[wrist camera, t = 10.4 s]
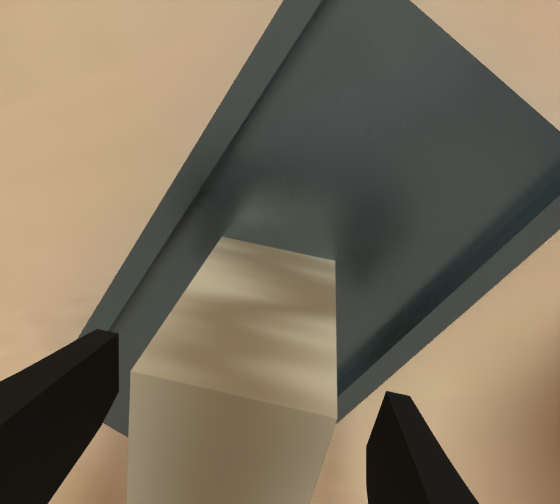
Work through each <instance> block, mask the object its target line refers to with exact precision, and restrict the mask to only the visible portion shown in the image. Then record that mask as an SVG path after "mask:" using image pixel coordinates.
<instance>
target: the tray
mask: <svg viewBox="0 0 560 504" xmlns="http://www.w3.org/2000/svg"><path fill="white" fill-rule="evenodd" d="M559 229H560V131H559V130H557V129H556V128H555V127H554V126H553V125H552V124H551V123H549V122H548V121H547V120H546V119H545V118H544V117H543V116H541V115H540V114H539V113H538V112H537V111H536V110H535V109H533V108H532V107H531V106H530V105H529V104H528V103H527V102H525V101H524V100H523V99H522V98H521V97H520V96H519V95H517V94H516V93H515V92H514V91H513V90H512V89H511V88H509V87H508V86H507V85H506V84H505V83H504V82H503V81H501V80H500V79H499V78H498V77H497V76H496V75H495V74H493V73H492V72H491V71H490V70H489V69H488V68H487V67H485V66H484V65H483V64H482V63H481V62H480V61H479V60H477V59H476V58H475V57H474V56H473V55H472V54H471V53H469V52H468V51H467V50H466V49H465V48H464V47H463V46H461V45H460V44H459V43H458V42H457V41H456V40H454V39H453V38H452V37H451V36H450V35H449V34H448V33H446V32H445V31H444V30H443V29H442V28H441V27H440V26H438V25H437V24H436V23H435V22H434V21H433V20H432V19H430V18H429V17H428V16H427V15H426V14H425V13H424V12H422V11H421V10H420V9H419V8H418V7H417V6H416V5H414V4H413V3H412V2H411V1H410V0H283V2H282V4H281V5H280V7H279V9H278V10H277V12H276V14H275V15H274V17H273V18H272V20H271V22H270V23H269V25H268V27H267V28H266V30H265V32H264V33H263V35H262V37H261V38H260V40H259V41H258V43H257V45H256V46H255V48H254V50H253V51H252V53H251V55H250V56H249V58H248V60H247V61H246V63H245V64H244V66H243V68H242V69H241V71H240V73H239V74H238V76H237V78H236V79H235V81H234V83H233V84H232V86H231V87H230V89H229V91H228V92H227V94H226V96H225V97H224V99H223V101H222V102H221V104H220V106H219V107H218V109H217V110H216V112H215V114H214V115H213V117H212V119H211V120H210V122H209V124H208V125H207V127H206V129H205V130H204V132H203V133H202V135H201V137H200V138H199V140H198V142H197V143H196V145H195V147H194V148H193V150H192V152H191V153H190V155H189V156H188V158H187V160H186V161H185V163H184V165H183V166H182V168H181V170H180V171H179V173H178V174H177V176H176V178H175V179H174V181H173V183H172V184H171V186H170V188H169V189H168V191H167V193H166V194H165V196H164V197H163V199H162V201H161V202H160V204H159V206H158V207H157V209H156V211H155V212H154V214H153V216H152V217H151V219H150V220H149V222H148V224H147V225H146V227H145V229H144V230H143V232H142V234H141V235H140V237H139V239H138V240H137V242H136V243H135V245H134V247H133V248H132V250H131V252H130V253H129V255H128V257H127V258H126V260H125V262H124V263H123V265H122V266H121V268H120V270H119V271H118V273H117V275H116V276H115V278H114V280H113V281H112V283H111V285H110V286H109V288H108V289H107V291H106V293H105V294H104V296H103V298H102V299H101V301H100V303H99V304H98V306H97V308H96V309H95V311H94V312H93V314H92V316H91V317H90V319H89V321H88V322H87V324H86V326H85V327H84V329H83V330H82V332H81V334H80V335H79V337H78V339H79V338H81V337H83V336H84V335H86V334H88V333H90V332H92V331H94V330H96V329H100V330H105V331H110V332H114V333H119V392H118V394H117V396H116V398H115V400H114V402H113V404H112V406H111V408H110V410H109V412H108V414H107V416H106V418H105V419H104V421H103V423H104V424H106V425H108V426H110V427H111V428H113V429H115V430H116V431H118V432H120V433H122V434H123V435H125V436H127V437H128V432H129V403H130V375H131V370H132V368H133V367H134V365H135V364H136V362H137V361H138V359H139V358H140V356H141V355H142V354H143V352H144V351H145V349H146V348H147V346H148V345H149V343H150V342H151V340H152V339H153V337H154V336H155V334H156V333H157V331H158V330H159V328H160V327H161V326H162V324H163V323H164V321H165V320H166V318H167V317H168V315H169V314H170V312H171V311H172V309H173V308H174V306H175V305H176V303H177V302H178V300H179V299H180V298H181V296H182V295H183V293H184V292H185V290H186V289H187V287H188V286H189V284H190V283H191V281H192V280H193V278H194V277H195V275H196V274H197V272H198V271H199V270H200V268H201V267H202V265H203V264H204V262H205V261H206V259H207V258H208V256H209V255H210V253H211V252H212V250H213V249H214V247H215V246H216V244H217V243H218V242H219V240H220V239H221V237H227V238H231V239H236V240H240V241H245V242H250V243H254V244H259V245H263V246H268V247H273V248H277V249H282V250H286V251H291V252H296V253H300V254H305V255H310V256H314V257H319V258H323V259H328V260H333V261H335V280H336V354H337V421H336V424H337V423H338V422H339V421H340V420H341V419H342V418H343V417H345V416H346V415H347V414H348V413H349V412H350V411H351V410H353V409H354V408H355V407H356V406H357V405H358V404H360V403H361V402H362V401H363V400H364V399H365V398H366V397H368V396H369V395H370V394H371V393H372V392H373V391H374V390H376V389H377V388H378V387H379V386H380V385H381V384H383V383H384V382H385V381H386V380H387V379H388V378H389V377H391V376H392V375H393V374H394V373H395V372H396V371H397V370H399V369H400V368H401V367H402V366H403V365H404V364H405V363H407V362H408V361H409V360H410V359H411V358H412V357H414V356H415V355H416V354H417V353H418V352H419V351H420V350H422V349H423V348H424V347H425V346H426V345H427V344H428V343H430V342H431V341H432V340H433V339H434V338H435V337H437V336H438V335H439V334H440V333H441V332H442V331H443V330H445V329H446V328H447V327H448V326H449V325H450V324H451V323H453V322H454V321H455V320H456V319H457V318H458V317H459V316H461V315H462V314H463V313H464V312H465V311H466V310H468V309H469V308H470V307H471V306H472V305H473V304H474V303H476V302H477V301H478V300H479V299H480V298H481V297H482V296H484V295H485V294H486V293H487V292H488V291H489V290H490V289H492V288H493V287H494V286H495V285H496V284H497V283H499V282H500V281H501V280H502V279H503V278H504V277H505V276H507V275H508V274H509V273H510V272H511V271H512V270H513V269H515V268H516V267H517V266H518V265H519V264H520V263H522V262H523V261H524V260H525V259H526V258H527V257H528V256H530V255H531V254H532V253H533V252H534V251H535V250H536V249H538V248H539V247H540V246H541V245H542V244H543V243H544V242H546V241H547V240H548V239H549V238H550V237H551V236H553V235H554V234H555V233H556V232H557V231H558V230H559Z"/></svg>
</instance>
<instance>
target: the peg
mask: <svg viewBox="0 0 560 504" xmlns="http://www.w3.org/2000/svg"><path fill="white" fill-rule="evenodd" d="M336 421H337V354H336V280H335V261H333V260H328V259H323V258H319V257H314V256H310V255H305V254H300V253H296V252H291V251H286V250H282V249H277V248H273V247H268V246H263V245H259V244H254V243H250V242H245V241H240V240H236V239H231V238H227V237H221V239H220V240H219V242H218V243H217V244H216V246H215V247H214V249H213V250H212V252H211V253H210V255H209V256H208V258H207V259H206V261H205V262H204V264H203V265H202V267H201V268H200V270H199V271H198V272H197V274H196V275H195V277H194V278H193V280H192V281H191V283H190V284H189V286H188V287H187V289H186V290H185V292H184V293H183V295H182V296H181V298H180V299H179V300H178V302H177V303H176V305H175V306H174V308H173V309H172V311H171V312H170V314H169V315H168V317H167V318H166V320H165V321H164V323H163V324H162V326H161V327H160V328H159V330H158V331H157V333H156V334H155V336H154V337H153V339H152V340H151V342H150V343H149V345H148V346H147V348H146V349H145V351H144V352H143V354H142V355H141V356H140V358H139V359H138V361H137V362H136V364H135V365H134V367H133V368H132V370H131V375H130V403H129V432H128V461H127V490H126V504H309V503H310V500H311V497H312V494H313V491H314V488H315V485H316V482H317V479H318V476H319V473H320V470H321V467H322V464H323V461H324V458H325V455H326V452H327V449H328V445H329V442H330V439H331V436H332V433H333V430H334V427H335V424H336Z"/></svg>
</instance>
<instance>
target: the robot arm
mask: <svg viewBox="0 0 560 504" xmlns="http://www.w3.org/2000/svg"><path fill="white" fill-rule="evenodd" d="M118 392H119V333H114V332H110V331H105V330H100V329H96V330H94V331H92V332H90V333H88V334H86V335H84V336H83V337H81V338H79V339H77V340H76V341H74V342H72V343H70V344H69V345H67V346H65V347H63V348H61V349H60V350H58V351H56V352H54V353H53V354H51V355H49V356H47V357H45V358H44V359H42V360H40V361H38V362H36V363H35V364H33V365H31V366H29V367H27V368H25V369H24V370H22V371H20V372H18V373H16V374H14V375H12V376H10V377H8V378H6V379H4V380H2V381H0V504H48V502H49V501H50V500H51V498H52V497H53V495H54V494H55V492H56V491H57V489H58V488H59V487H60V485H61V484H62V482H63V481H64V479H65V478H66V476H67V475H68V474H69V472H70V471H71V469H72V468H73V466H74V465H75V463H76V462H77V461H78V459H79V458H80V456H81V455H82V453H83V452H84V450H85V449H86V447H87V446H88V445H89V443H90V442H91V440H92V439H93V437H94V436H95V434H96V433H97V431H98V430H99V428H100V427H101V425H102V423H103V421H104V419H105V418H106V416H107V414H108V412H109V410H110V408H111V406H112V404H113V402H114V400H115V398H116V396H117V394H118ZM366 484H367V496H368V504H479V503H478V501H477V500H476V499H475V497H474V496H473V494H472V493H471V492H470V490H469V489H468V487H467V486H466V484H465V483H464V481H463V480H462V478H461V477H460V475H459V474H458V472H457V471H456V469H455V468H454V466H453V465H452V463H451V462H450V460H449V459H448V457H447V456H446V454H445V452H444V451H443V449H442V448H441V446H440V445H439V443H438V441H437V440H436V438H435V436H434V435H433V433H432V432H431V430H430V428H429V427H428V425H427V423H426V422H425V420H424V418H423V417H422V415H421V413H420V412H419V410H418V408H417V407H416V405H415V404H414V402H413V400H412V399H411V397H410V396H407V395H402V394H398V393H393V392H388V391H386V393H385V396H384V399H383V402H382V404H381V407H380V410H379V413H378V416H377V418H376V421H375V424H374V427H373V429H372V432H371V435H370V438H369V441H368V443H367V446H366Z"/></svg>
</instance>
